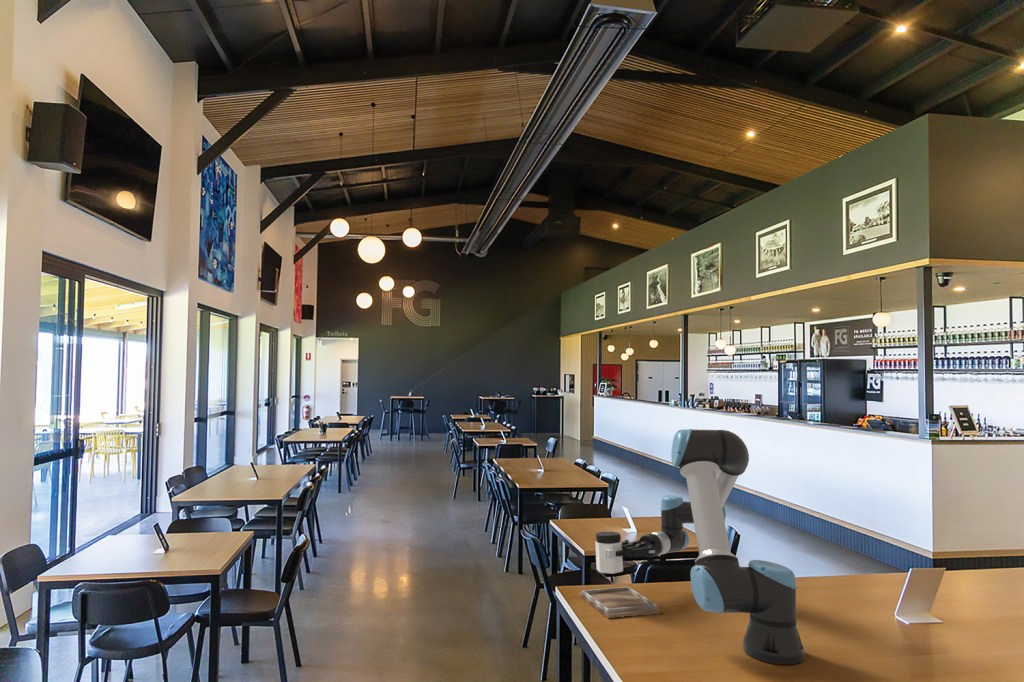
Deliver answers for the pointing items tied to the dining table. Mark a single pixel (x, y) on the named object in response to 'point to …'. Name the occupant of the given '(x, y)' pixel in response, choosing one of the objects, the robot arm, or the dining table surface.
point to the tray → (619, 602)
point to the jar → (605, 542)
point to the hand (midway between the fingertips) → (606, 554)
